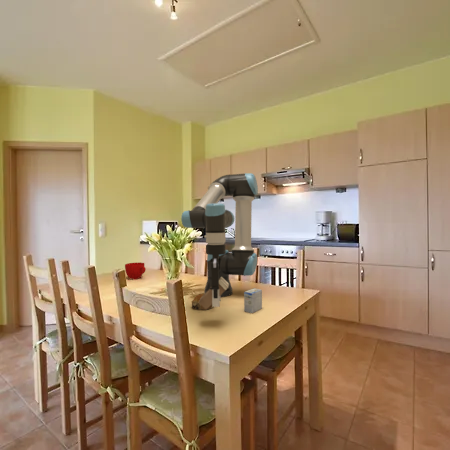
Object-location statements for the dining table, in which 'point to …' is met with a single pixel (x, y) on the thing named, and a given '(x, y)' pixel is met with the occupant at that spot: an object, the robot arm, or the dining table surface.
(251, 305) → the medicine box
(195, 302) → the bread roll
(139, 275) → the ceramic cup
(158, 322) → the dining table surface
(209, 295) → the walnut block
